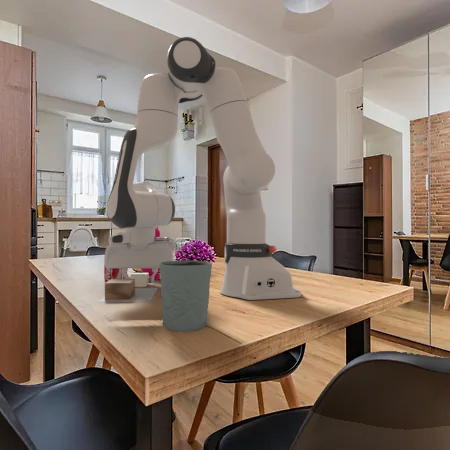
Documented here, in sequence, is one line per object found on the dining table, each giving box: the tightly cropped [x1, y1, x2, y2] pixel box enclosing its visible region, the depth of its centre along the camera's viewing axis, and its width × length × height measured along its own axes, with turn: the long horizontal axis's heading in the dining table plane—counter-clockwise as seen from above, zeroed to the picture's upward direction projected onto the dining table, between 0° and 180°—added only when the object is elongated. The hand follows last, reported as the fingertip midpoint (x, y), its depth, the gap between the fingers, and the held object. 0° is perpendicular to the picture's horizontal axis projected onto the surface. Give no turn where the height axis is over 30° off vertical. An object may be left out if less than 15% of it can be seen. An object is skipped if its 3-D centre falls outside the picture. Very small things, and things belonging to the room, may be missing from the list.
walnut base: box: [104, 279, 136, 300], centre depth 82 cm, size 6×6×4 cm
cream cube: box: [130, 272, 149, 288], centre depth 98 cm, size 4×4×4 cm
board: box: [97, 287, 159, 303], centre depth 85 cm, size 12×16×1 cm
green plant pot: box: [159, 260, 213, 332], centre depth 63 cm, size 10×10×12 cm
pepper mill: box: [140, 226, 161, 281], centre depth 115 cm, size 7×7×20 cm
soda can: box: [103, 255, 125, 284], centre depth 105 cm, size 7×7×12 cm
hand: (139, 283), depth 98 cm, fingers open, 5 cm apart
